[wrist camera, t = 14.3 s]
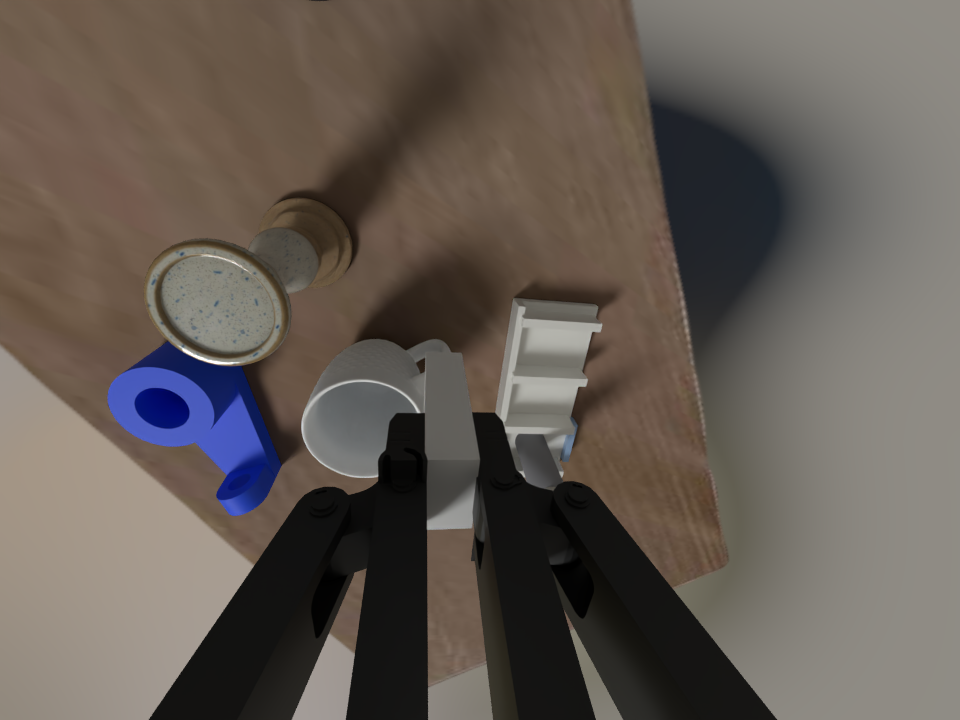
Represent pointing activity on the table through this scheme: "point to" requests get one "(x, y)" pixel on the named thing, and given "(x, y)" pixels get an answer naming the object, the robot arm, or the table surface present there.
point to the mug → (363, 403)
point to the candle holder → (245, 283)
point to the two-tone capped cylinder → (537, 461)
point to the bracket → (200, 419)
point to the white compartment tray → (544, 372)
